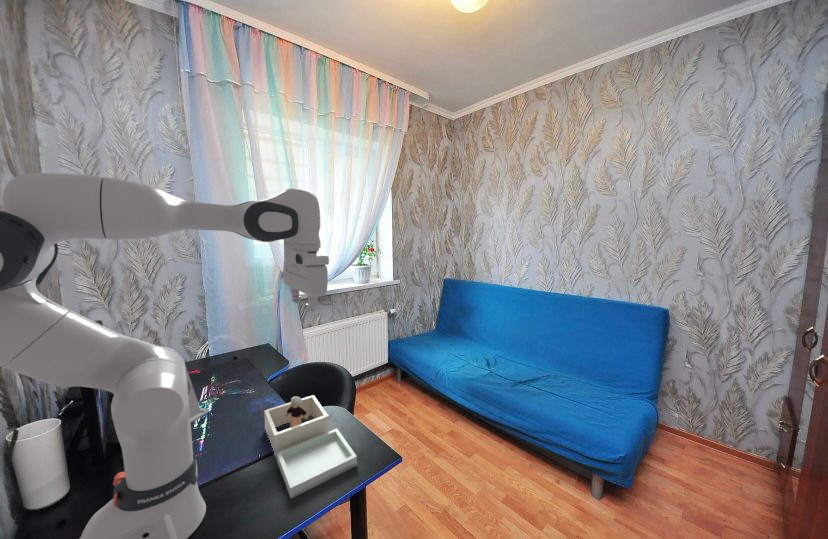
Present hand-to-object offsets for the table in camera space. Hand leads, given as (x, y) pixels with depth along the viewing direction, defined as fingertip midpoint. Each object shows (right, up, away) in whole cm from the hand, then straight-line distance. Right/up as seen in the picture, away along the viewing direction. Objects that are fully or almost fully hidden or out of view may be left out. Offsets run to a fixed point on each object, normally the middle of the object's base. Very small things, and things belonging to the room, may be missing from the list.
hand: (303, 306), depth 79 cm
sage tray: (+2, -46, +6) cm, 46 cm away
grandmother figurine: (-9, -44, +18) cm, 48 cm away
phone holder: (-51, -42, +20) cm, 68 cm away
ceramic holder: (-9, -43, +18) cm, 48 cm away
